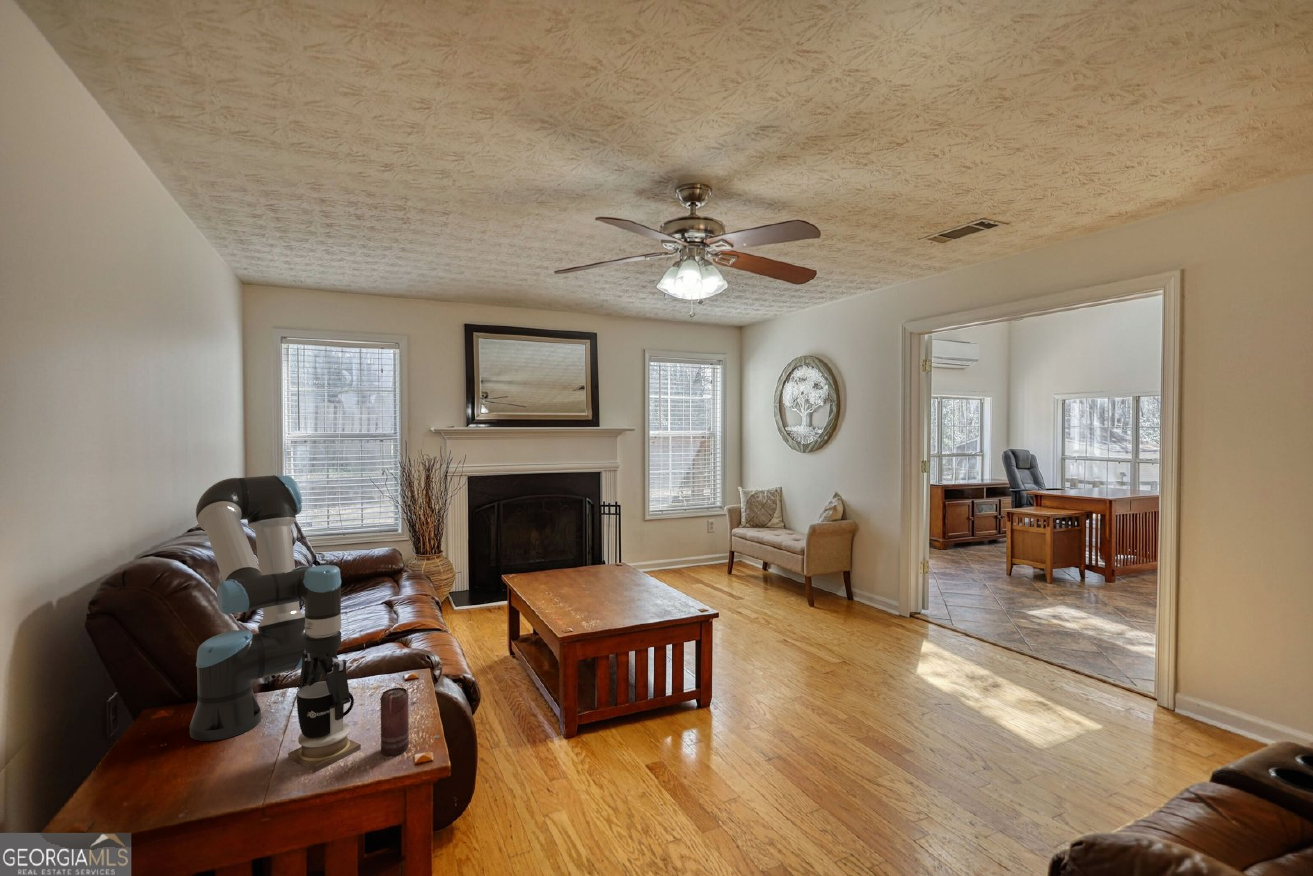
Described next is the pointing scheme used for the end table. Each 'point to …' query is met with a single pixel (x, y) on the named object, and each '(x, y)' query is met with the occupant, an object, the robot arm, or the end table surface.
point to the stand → (324, 749)
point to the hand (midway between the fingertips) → (324, 727)
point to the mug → (316, 709)
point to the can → (394, 721)
